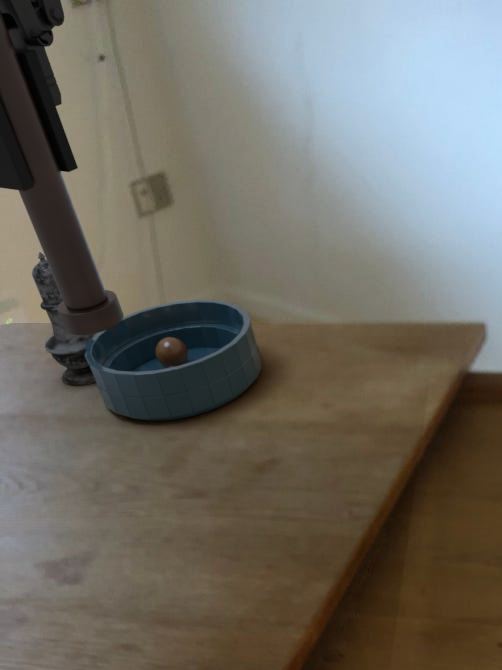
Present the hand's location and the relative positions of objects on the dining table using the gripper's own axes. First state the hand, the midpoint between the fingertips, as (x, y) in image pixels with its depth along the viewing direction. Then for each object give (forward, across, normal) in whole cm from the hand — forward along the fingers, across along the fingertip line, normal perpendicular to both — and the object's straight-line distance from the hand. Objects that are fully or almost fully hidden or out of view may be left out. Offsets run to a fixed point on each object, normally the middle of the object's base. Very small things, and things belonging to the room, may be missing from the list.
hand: (37, 176), depth 60 cm
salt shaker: (+25, +14, +25) cm, 38 cm away
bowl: (+25, +16, +14) cm, 33 cm away
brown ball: (+23, +17, +16) cm, 33 cm away
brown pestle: (+10, 0, 0) cm, 10 cm away
